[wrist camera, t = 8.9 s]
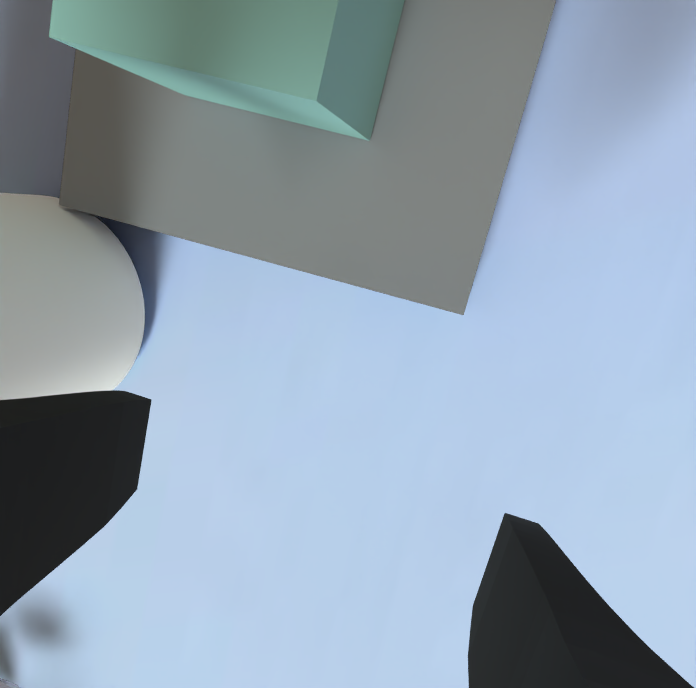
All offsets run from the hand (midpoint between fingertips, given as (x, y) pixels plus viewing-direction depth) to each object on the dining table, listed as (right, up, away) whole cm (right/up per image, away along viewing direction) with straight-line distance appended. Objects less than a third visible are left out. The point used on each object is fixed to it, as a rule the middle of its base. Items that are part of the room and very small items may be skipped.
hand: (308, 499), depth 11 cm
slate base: (0, +13, +8) cm, 15 cm away
